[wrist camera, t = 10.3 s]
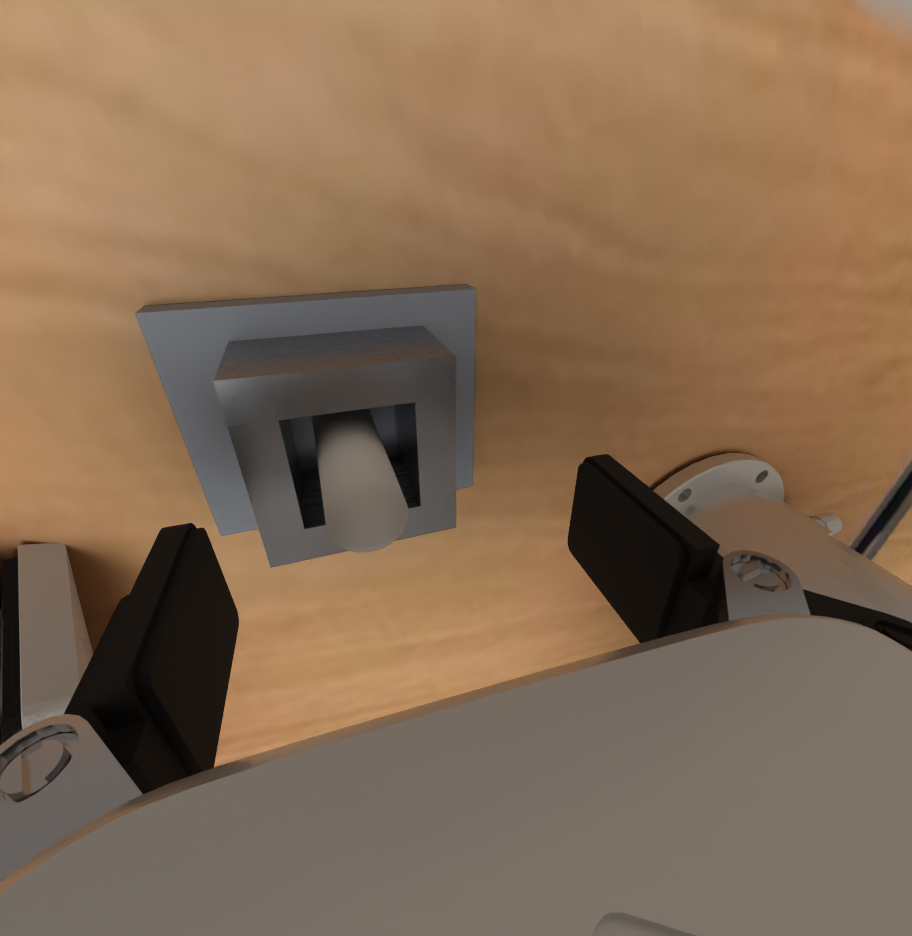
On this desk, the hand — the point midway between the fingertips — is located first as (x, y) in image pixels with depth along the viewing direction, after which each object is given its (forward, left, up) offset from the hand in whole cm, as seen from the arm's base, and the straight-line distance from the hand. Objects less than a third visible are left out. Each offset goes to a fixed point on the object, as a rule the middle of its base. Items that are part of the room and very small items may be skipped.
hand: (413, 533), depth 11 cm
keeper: (+1, -1, -7) cm, 7 cm away
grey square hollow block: (+1, -1, -6) cm, 6 cm away
